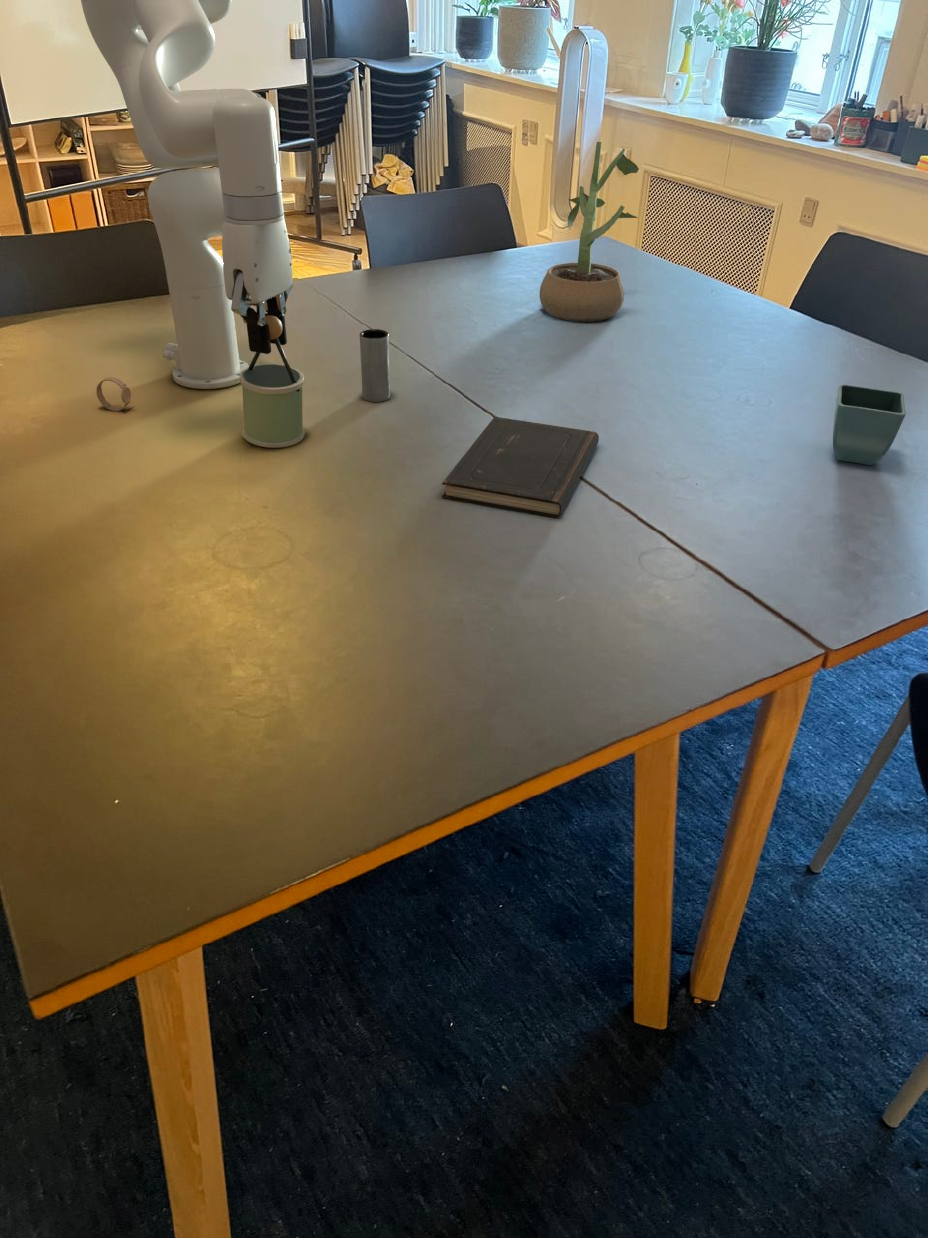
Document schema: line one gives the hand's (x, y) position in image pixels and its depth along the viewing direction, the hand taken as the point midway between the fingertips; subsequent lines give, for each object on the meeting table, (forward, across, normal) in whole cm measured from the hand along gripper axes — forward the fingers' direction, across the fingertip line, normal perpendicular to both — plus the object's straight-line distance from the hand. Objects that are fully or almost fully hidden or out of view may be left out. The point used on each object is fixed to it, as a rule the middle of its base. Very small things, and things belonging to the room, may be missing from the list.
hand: (268, 346), depth 132 cm
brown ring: (+14, +2, -28) cm, 31 cm away
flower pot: (+14, -30, +79) cm, 86 cm away
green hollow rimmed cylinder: (+5, 0, +4) cm, 7 cm away
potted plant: (+14, -81, +22) cm, 85 cm away
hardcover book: (+14, -5, +37) cm, 40 cm away
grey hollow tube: (+14, -20, +6) cm, 25 cm away
